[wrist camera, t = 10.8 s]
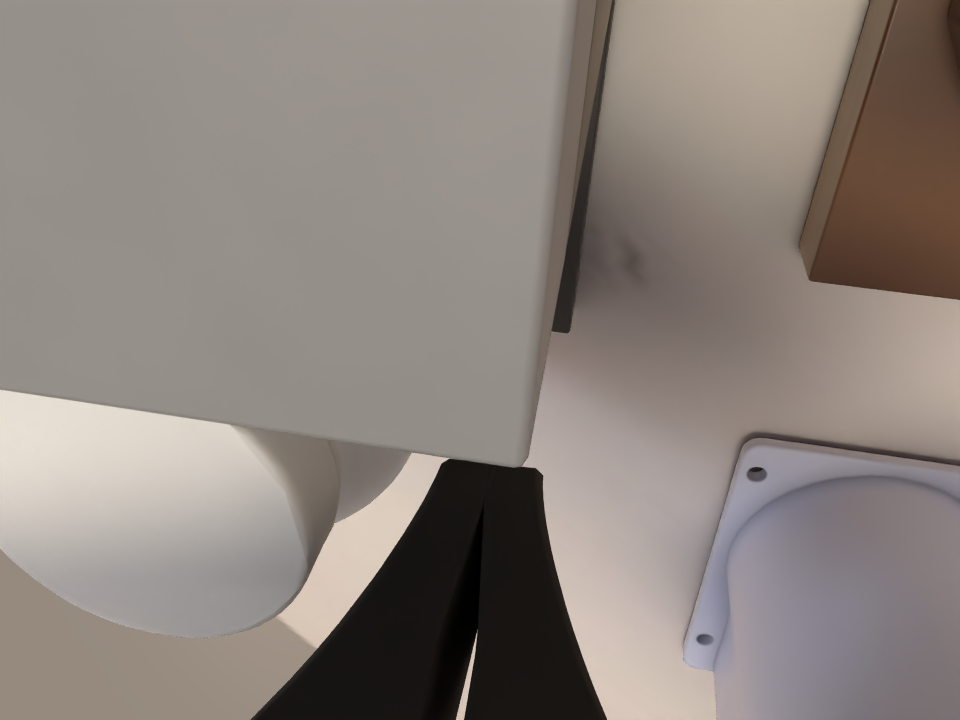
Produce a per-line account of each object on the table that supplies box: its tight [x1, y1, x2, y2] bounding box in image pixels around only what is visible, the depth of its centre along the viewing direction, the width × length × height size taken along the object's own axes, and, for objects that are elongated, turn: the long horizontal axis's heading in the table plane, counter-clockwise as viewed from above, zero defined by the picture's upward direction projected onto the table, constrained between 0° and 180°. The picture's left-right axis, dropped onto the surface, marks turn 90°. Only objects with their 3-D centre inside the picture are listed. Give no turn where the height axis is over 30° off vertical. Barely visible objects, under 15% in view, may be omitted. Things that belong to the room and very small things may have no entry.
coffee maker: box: [0, 0, 615, 468], centre depth 13 cm, size 13×10×16 cm
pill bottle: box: [0, 390, 411, 638], centre depth 15 cm, size 6×6×11 cm
